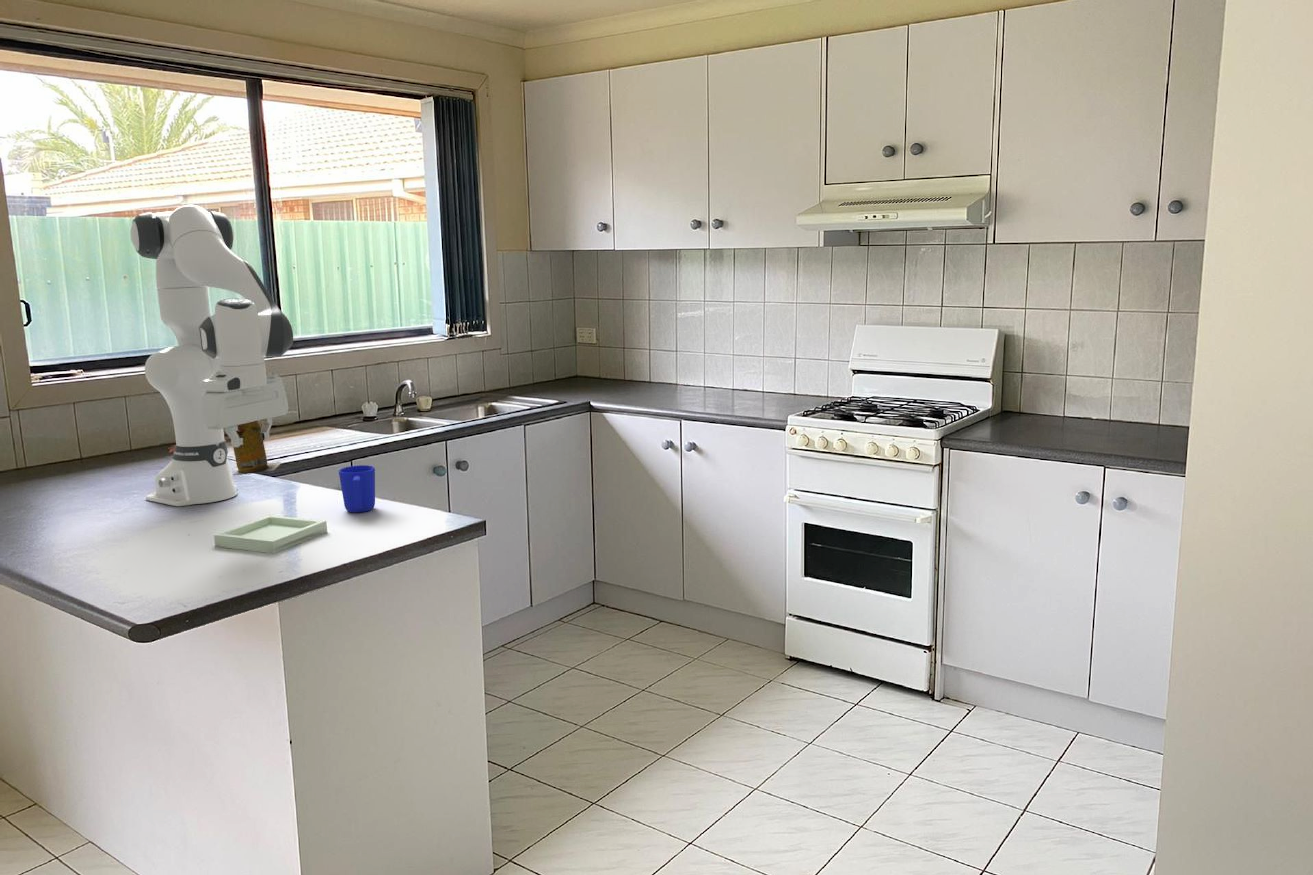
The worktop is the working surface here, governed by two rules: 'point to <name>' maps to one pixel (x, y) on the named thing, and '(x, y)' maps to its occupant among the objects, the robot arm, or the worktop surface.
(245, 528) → the tray
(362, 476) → the mug
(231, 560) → the worktop surface
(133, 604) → the worktop surface
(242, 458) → the condiment
